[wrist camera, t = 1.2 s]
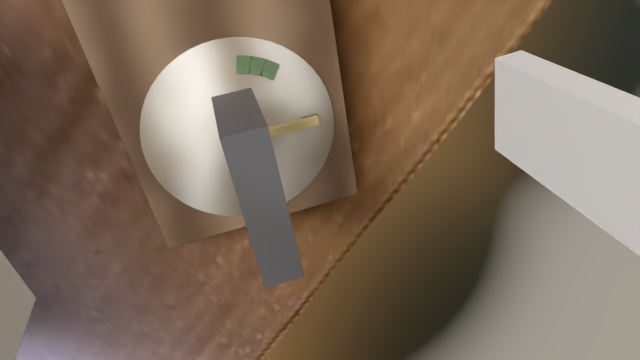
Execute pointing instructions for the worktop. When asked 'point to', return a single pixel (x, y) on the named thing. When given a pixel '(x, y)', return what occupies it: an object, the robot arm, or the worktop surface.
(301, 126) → the peg knob
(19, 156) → the worktop surface
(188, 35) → the tuner board
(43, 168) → the worktop surface
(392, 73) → the worktop surface
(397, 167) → the worktop surface
